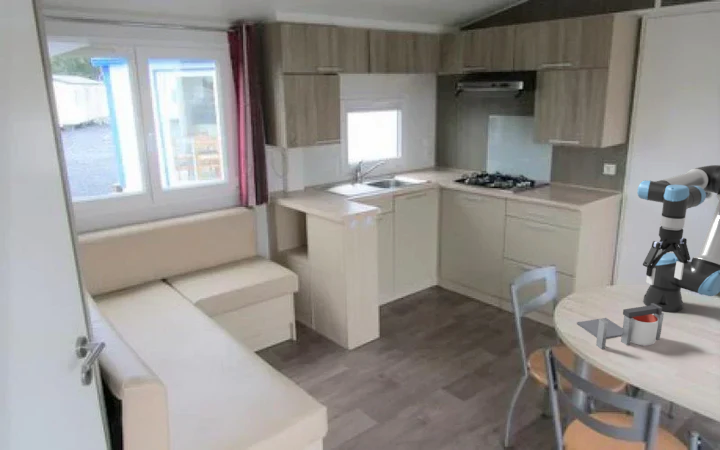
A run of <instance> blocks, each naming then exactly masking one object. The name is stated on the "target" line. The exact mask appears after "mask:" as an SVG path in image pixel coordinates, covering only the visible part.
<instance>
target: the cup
mask: <svg viewBox="0 0 720 450" xmlns="http://www.w3.org/2000/svg"><path fill="white" fill-rule="evenodd" d="M632 318H633V326H632V333H631V340H630V343H633V344H634V345H638V346H643V347H644V346H645V347H649V346H652V345H654V344H655V342H656V341H657V340H656V334H657V328H658V321H659V319H658V318H657V317H656V316H655V315H654V314H649V315H643V316H636V317H632Z"/></svg>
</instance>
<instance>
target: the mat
mask: <svg viewBox="0 0 720 450" xmlns="http://www.w3.org/2000/svg"><path fill="white" fill-rule="evenodd" d="M602 318H603V319H604V320H606V321H607V322H608V327H607V336H606V339H611V338H617V337H622V329H623V327H622V326H620V325H618V324H617V323H615V322H614V321H612V320H610V319H609V318H607V317H602ZM599 319H600V318H595V319H590V320H589V319H587V320H584V321H583V320H582V321H577V322H576V324H577V325H578V326H579V327H581V328H582V329H584V330H585V331H587V332H588V333H589V334H591V336H592V335H593V336H594V337H595V338H597V333H598V325H599Z"/></svg>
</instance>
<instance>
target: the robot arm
mask: <svg viewBox="0 0 720 450" xmlns="http://www.w3.org/2000/svg"><path fill="white" fill-rule="evenodd" d="M706 192H708V193H715V194H716V198H717V201H718V203H717V206H716V208H715V211H714V213H713V216H712V217H711V218H712V219H711V221H710V224H709V226H708V229H707V232H706V234H705V236H704V240H703V241H702V245H701V247H700V250H699V253H698V254H697V255H695V256H693V257H692V259H691V257H690V252H689V248H688V245H687V241H688V240H687V238H685V237H683V235H684V227H685V221H686V216H687V215H686V214H687V210H688V209H691V208H694V207H698V206H700V205H701V204H703V203H704V202H705V200H706V198H707V193H706ZM637 196H638V198H640V199H642V200H646V201H651V202H656V203H662V211H661V217H660V224H659V225H660V227H659V231H658V236H659V241H656V240H653V241H652V244H651V246H650V247H651V248H650V249H649V251H648V253H647V255H646V257H645V259H644V261H643V263H642V266H644V267H646V280H645V283H646V284H649V286H648V288H647V290H646V291H645V294H644V295H643V298H642V299H643V300H642V302H643V304H644V305H645V306H650V305H651V303H654V304H656V305H658V306H660V307H662V312H669V313H670V312H673V313H674V312H679V311H681V310H682V309H683V307H684V302H683V297H682V292H681V289H684V290H686V291H690V292H694V293H697V294H699V295H705V296H708V297H714V296H716V295H718V294H719V293H720V164H717V165H715V164H714V165H713V164H711V165H705V166H698V167H696V168H692V169H689V170H688V171H687V172H686V173H682V174H678V175H675V176H672V177H668V178H663V179H661V180H655V181H653V180H643V181H641V182H640V183H639V185H638V187H637ZM690 260H691V261H690Z"/></svg>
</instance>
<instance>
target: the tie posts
mask: <svg viewBox="0 0 720 450" xmlns="http://www.w3.org/2000/svg"><path fill="white" fill-rule="evenodd" d="M653 315H655V316H656V317H657V318H658V319H659V321H658V328H657V334H656V341H660V339H661V334H662V326H663V321H664V312H662V314H661V315H658V314H653ZM603 318H604V317H602V318H598V319H599V325H598V333H597V337H596V343H595V346H596V347H598V349H601V350H604V349H606V343H607V338H606V336H607V327H608V322H607V321H606V320H604V319H603ZM632 326H633V318H632V317H630V318H628V317H627V316H625V315H623V323H622V328H623V329H622V336H620V337H621V339H620V342H621V343H623V344H624V345H625V346H630V345H631V341H630V340H631V333H632Z"/></svg>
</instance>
